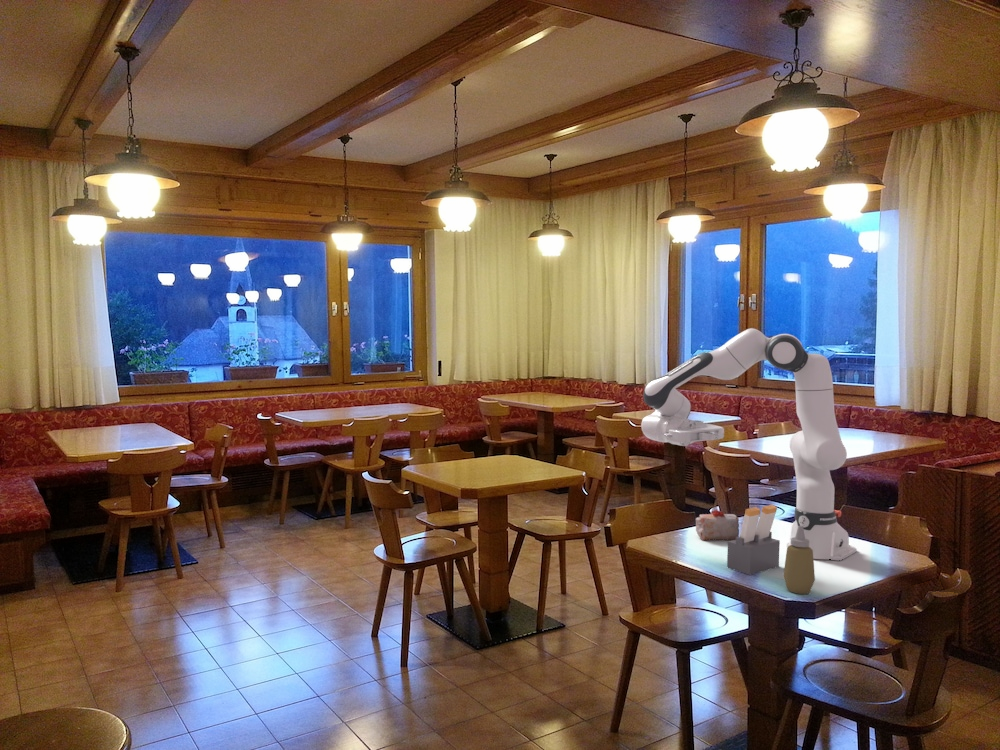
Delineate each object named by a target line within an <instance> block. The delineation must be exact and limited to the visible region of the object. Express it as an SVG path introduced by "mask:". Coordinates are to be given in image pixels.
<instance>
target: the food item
mask: <svg viewBox="0 0 1000 750" xmlns="http://www.w3.org/2000/svg"><path fill="white" fill-rule="evenodd" d="M739 521H740V519H739V517H738V515H736V514H734V513H723V511H722V510H718V509H717V508H715V509H714V510H712V511H711V512H710V513H708V514H707V513H705V514H704V513H702V514H699V516H698V517H695V531H696V534H697V536H698V537H699V538H700V539H701V540H702V541H705V542H706V541H726V542H728V541H732V540H736V537H740V529H739V528H740V524H739Z"/></svg>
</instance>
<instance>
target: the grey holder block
mask: <svg viewBox="0 0 1000 750" xmlns="http://www.w3.org/2000/svg"><path fill="white" fill-rule="evenodd" d="M780 543H781V542H780V540H779V539H775V538H772V531H770V533H769V537H766V538H762V539H758V535H756V534H755V537H754V540H753V541H749V542H745V543H744V538H740V536H739V537H736V540H732V541H727V559H726V560H727V561H726V563H727V565H726V567H728V568H727V569H729V568H731V569H730V570H733V569H735V570H734V571H736V570H737V572H739V571H741V572H740V573H742V572H743V573H742V574H745V573H746V574H745V575H748V574H749V575H748V576H751V575H755V574H759V573H760V572H761V571H762V572H765V571H768V569H769V570H771V569H775V567H776V568H778V567H779V566H780ZM754 573H755V574H754ZM750 574H751V575H750Z"/></svg>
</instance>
